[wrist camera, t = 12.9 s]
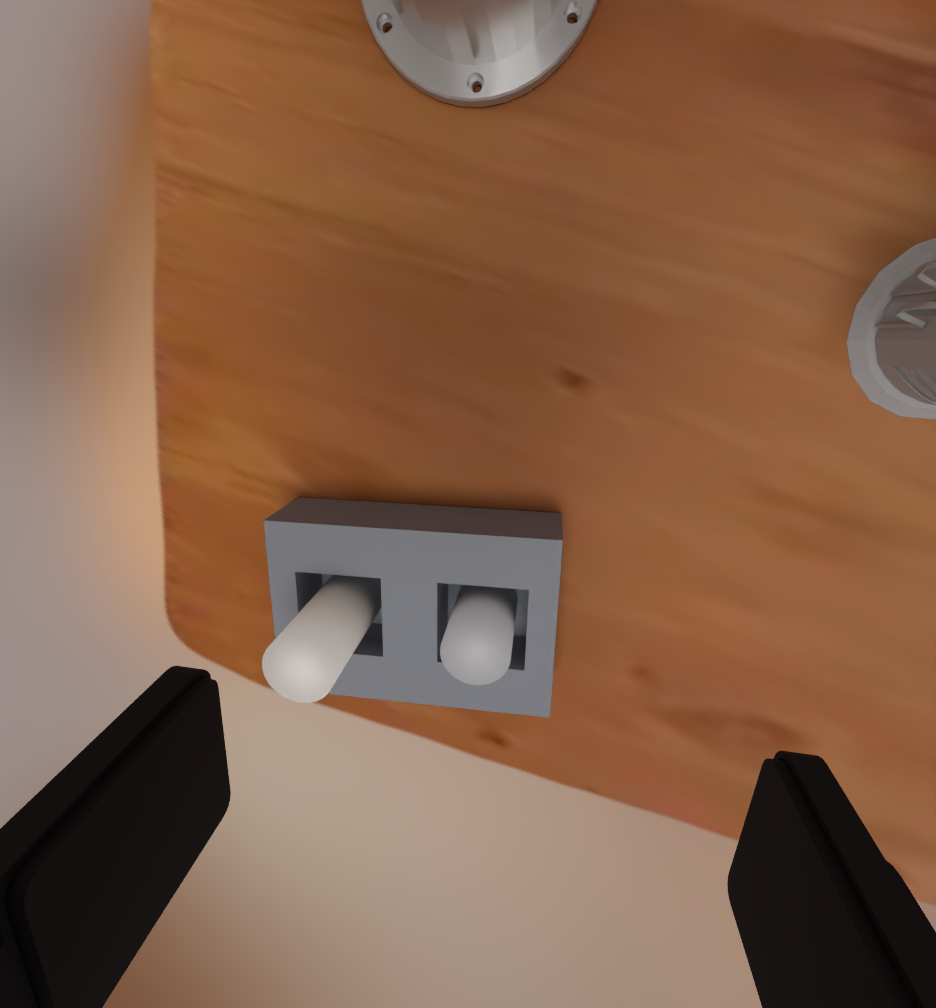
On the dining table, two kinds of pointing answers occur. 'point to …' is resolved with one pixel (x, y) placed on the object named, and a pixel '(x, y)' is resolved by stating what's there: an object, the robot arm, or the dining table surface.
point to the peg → (322, 638)
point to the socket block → (431, 597)
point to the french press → (898, 335)
